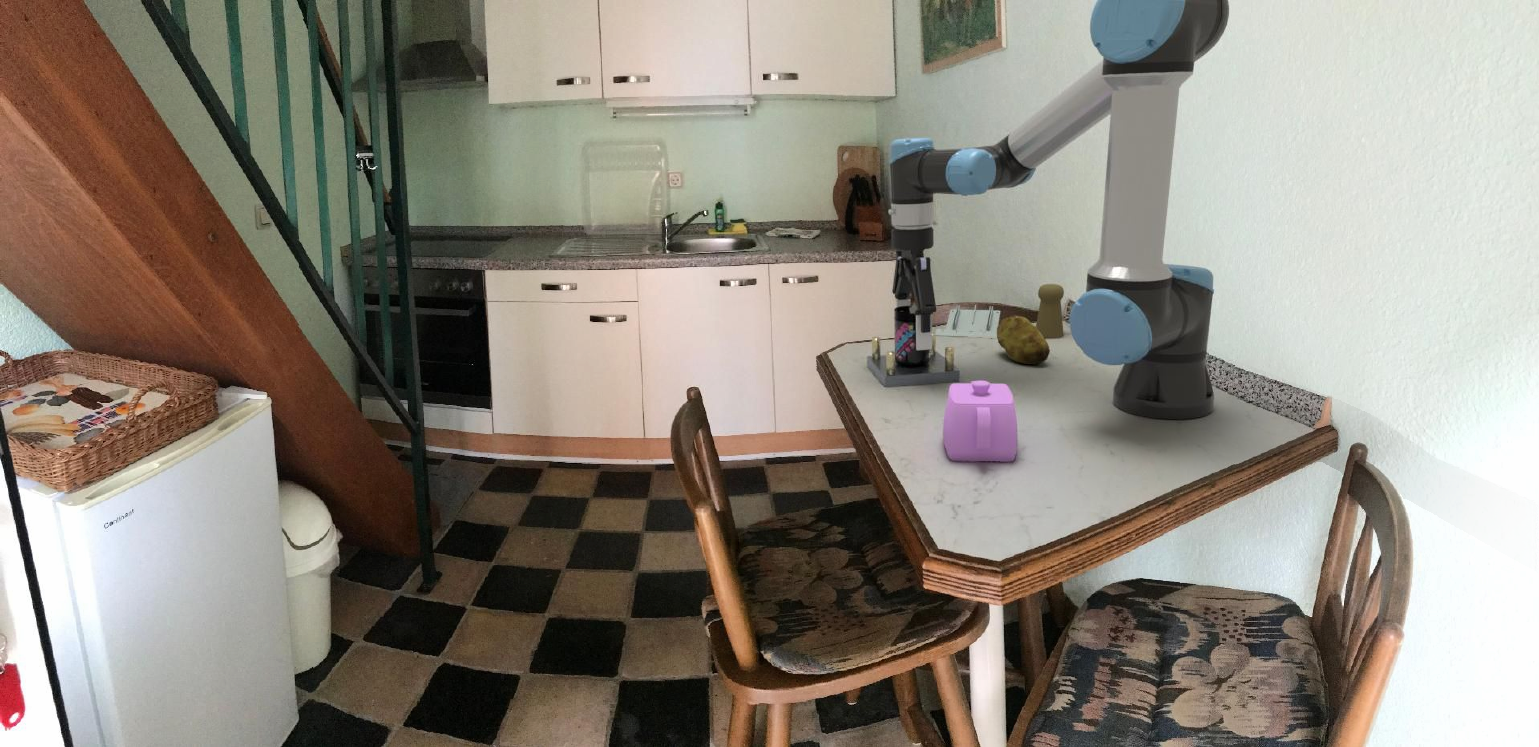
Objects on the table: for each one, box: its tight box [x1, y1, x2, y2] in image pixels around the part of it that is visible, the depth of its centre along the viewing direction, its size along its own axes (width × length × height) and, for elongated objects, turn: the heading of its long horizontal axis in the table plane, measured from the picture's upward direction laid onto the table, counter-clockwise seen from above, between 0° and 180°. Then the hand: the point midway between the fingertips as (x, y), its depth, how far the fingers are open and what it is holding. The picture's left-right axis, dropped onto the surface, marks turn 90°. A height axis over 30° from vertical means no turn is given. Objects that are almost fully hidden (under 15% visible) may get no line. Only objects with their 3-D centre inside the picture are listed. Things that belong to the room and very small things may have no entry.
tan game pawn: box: [1035, 283, 1065, 340], centre depth 191 cm, size 6×6×11 cm
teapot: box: [942, 380, 1018, 463], centre depth 131 cm, size 18×10×10 cm, turn 171°
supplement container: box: [893, 305, 930, 368], centre depth 167 cm, size 7×7×10 cm
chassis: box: [866, 332, 961, 388], centre depth 168 cm, size 14×14×6 cm
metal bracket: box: [934, 304, 1001, 338], centre depth 198 cm, size 14×6×15 cm
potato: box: [996, 315, 1051, 365], centre depth 174 cm, size 8×13×8 cm, turn 0°
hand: (913, 340), depth 167 cm, fingers open, 13 cm apart
